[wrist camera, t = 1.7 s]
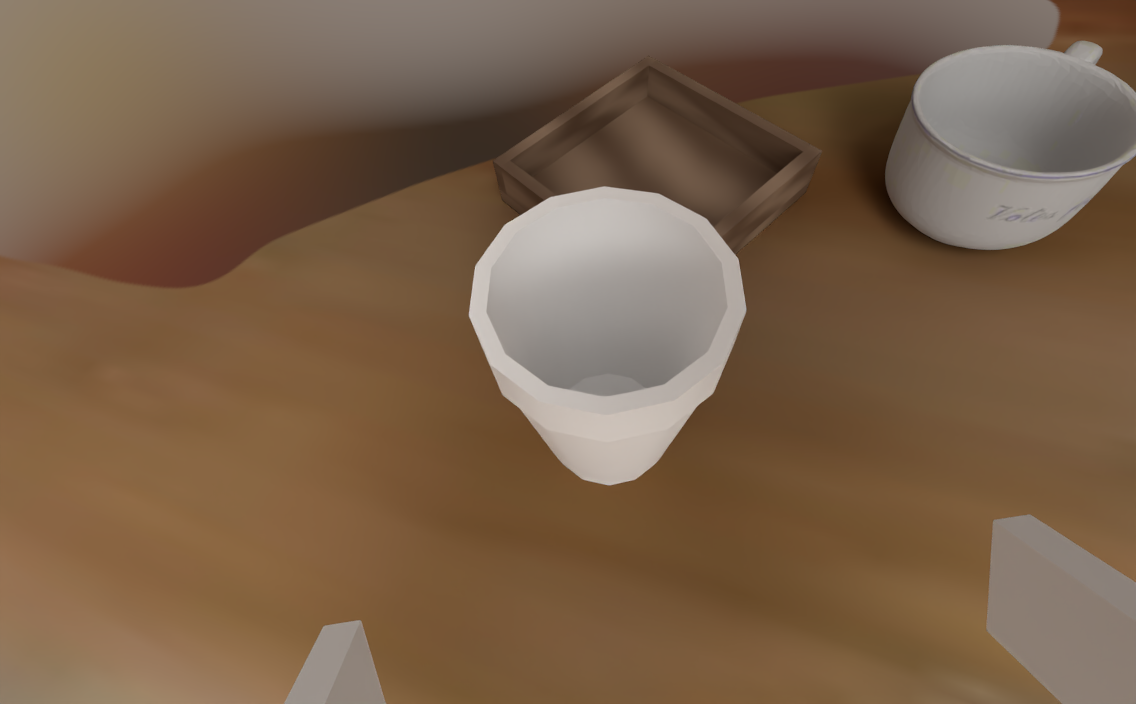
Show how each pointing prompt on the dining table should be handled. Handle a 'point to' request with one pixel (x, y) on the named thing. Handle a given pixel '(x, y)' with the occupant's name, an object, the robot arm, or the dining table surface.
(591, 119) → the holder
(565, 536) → the dining table surface
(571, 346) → the foam cup
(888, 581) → the dining table surface
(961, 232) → the teacup
